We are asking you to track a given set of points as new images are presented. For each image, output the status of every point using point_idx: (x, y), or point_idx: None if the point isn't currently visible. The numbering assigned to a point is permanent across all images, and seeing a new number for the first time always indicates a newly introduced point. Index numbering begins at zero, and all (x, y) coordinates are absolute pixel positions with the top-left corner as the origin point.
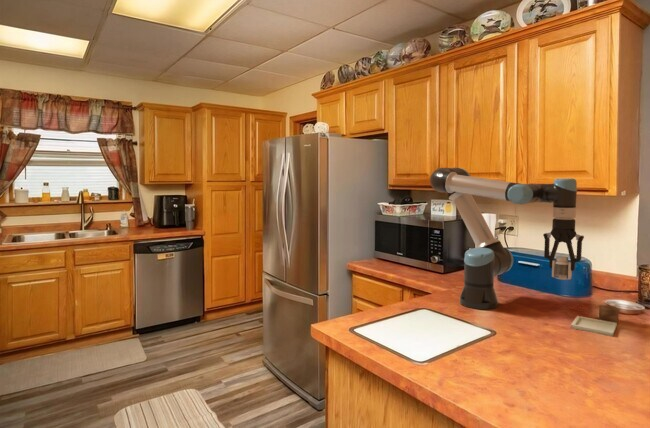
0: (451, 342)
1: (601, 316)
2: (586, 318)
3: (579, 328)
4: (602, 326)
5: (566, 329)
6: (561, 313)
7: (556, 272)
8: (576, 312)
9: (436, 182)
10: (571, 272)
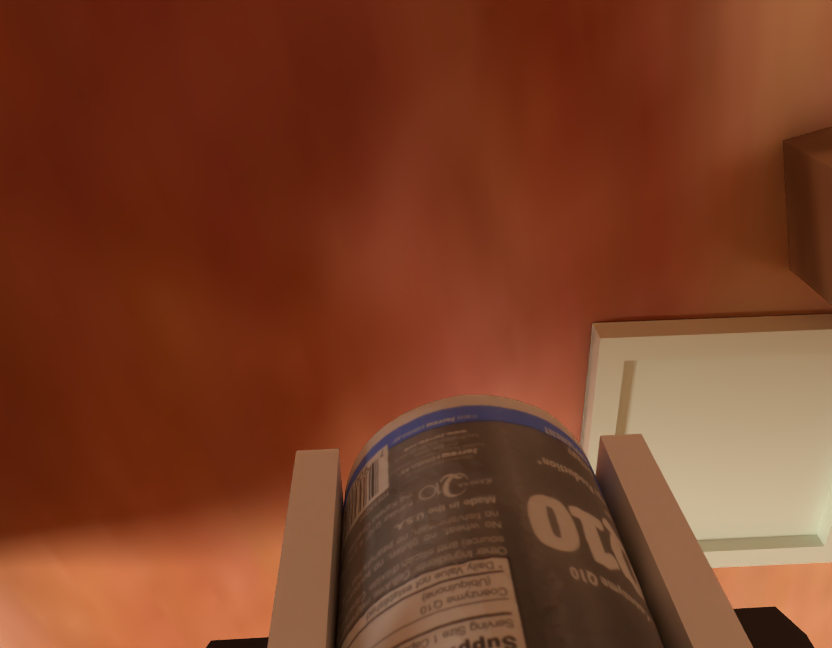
0: None
1: (817, 290)
2: (678, 357)
3: None
4: (786, 427)
5: None
6: (441, 248)
7: None
8: (568, 104)
9: None
10: (684, 543)
